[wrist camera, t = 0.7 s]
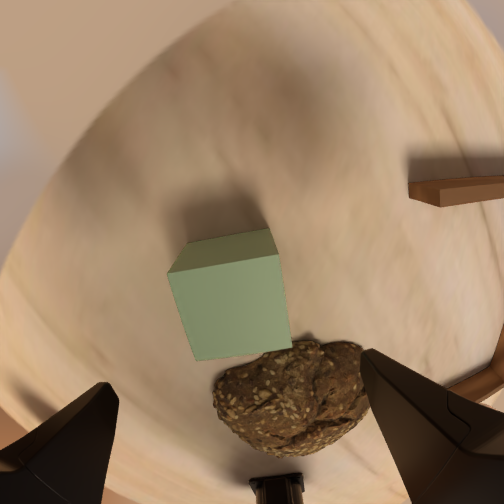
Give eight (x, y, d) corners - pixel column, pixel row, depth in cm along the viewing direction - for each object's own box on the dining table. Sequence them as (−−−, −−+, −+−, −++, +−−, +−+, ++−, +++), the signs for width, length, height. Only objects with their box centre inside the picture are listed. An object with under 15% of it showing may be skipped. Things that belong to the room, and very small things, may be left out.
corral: (492, 369, 23) (506, 385, 19) (389, 417, 23) (400, 441, 20) (526, 174, 16) (552, 179, 12) (408, 183, 16) (439, 189, 13)
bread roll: (274, 448, 24) (278, 486, 19) (192, 384, 21) (183, 430, 16) (387, 391, 22) (407, 428, 17) (335, 304, 19) (359, 345, 14)
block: (281, 301, 18) (292, 347, 14) (206, 313, 19) (195, 361, 14) (269, 227, 17) (278, 254, 12) (187, 242, 17) (166, 273, 12)
